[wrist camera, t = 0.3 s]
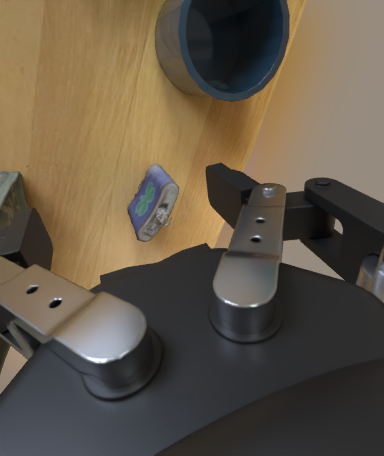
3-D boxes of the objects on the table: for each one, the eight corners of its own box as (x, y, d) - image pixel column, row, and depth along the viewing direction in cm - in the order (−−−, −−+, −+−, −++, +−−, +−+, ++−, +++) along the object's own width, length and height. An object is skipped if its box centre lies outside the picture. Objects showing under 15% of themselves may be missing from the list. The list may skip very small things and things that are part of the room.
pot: (144, -14, 33) (167, -43, 24) (241, -25, 36) (291, -54, 27) (165, 103, 39) (189, 111, 31) (246, 86, 42) (287, 89, 34)
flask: (151, 160, 42) (172, 184, 33) (168, 169, 44) (191, 194, 35) (123, 212, 44) (135, 247, 36) (140, 219, 46) (155, 254, 37)
